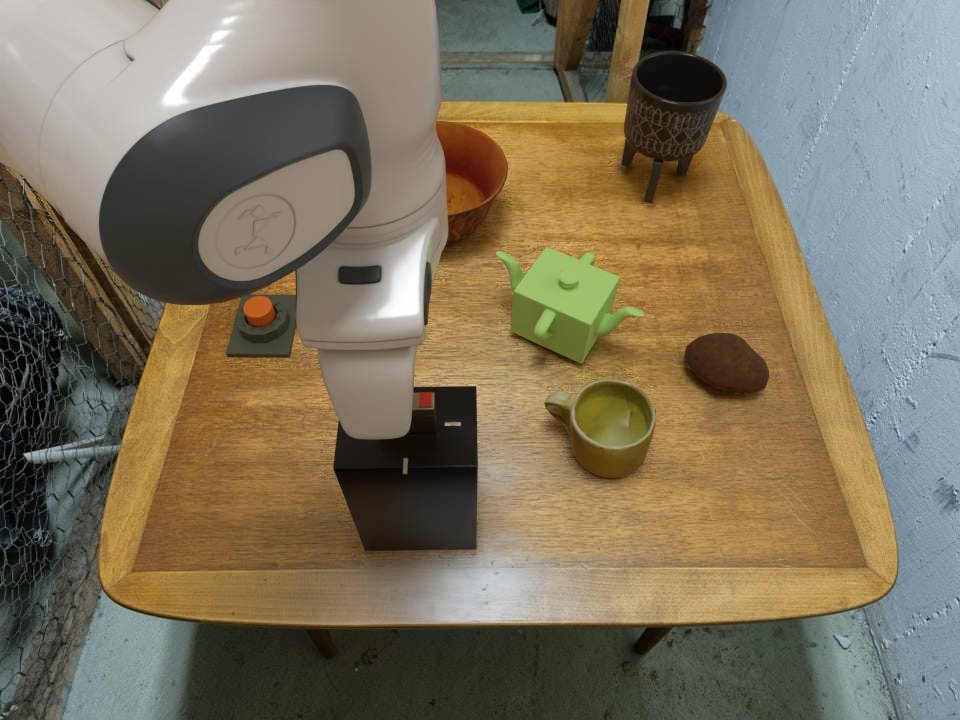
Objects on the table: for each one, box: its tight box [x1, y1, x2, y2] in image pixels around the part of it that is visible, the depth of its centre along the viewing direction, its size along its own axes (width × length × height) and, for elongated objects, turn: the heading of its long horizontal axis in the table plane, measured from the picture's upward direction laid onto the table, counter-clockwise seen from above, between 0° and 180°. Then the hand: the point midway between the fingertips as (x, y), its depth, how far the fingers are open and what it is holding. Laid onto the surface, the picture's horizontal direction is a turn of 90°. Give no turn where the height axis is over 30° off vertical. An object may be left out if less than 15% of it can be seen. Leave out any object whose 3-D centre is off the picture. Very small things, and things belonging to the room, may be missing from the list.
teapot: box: [495, 246, 646, 365], centre depth 85 cm, size 15×13×11 cm
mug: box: [543, 378, 657, 479], centre depth 77 cm, size 12×10×10 cm
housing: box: [225, 293, 297, 358], centre depth 88 cm, size 10×8×2 cm
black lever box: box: [332, 385, 479, 552], centre depth 66 cm, size 12×9×20 cm
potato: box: [684, 332, 770, 395], centre depth 82 cm, size 7×10×7 cm
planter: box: [620, 50, 728, 204], centre depth 100 cm, size 13×13×18 cm
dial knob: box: [408, 392, 437, 433], centre depth 56 cm, size 5×2×4 cm, turn 91°
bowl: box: [436, 120, 509, 245], centre depth 98 cm, size 21×21×10 cm
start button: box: [243, 296, 276, 327], centre depth 87 cm, size 4×4×2 cm
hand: (394, 353), depth 49 cm, fingers open, 8 cm apart
